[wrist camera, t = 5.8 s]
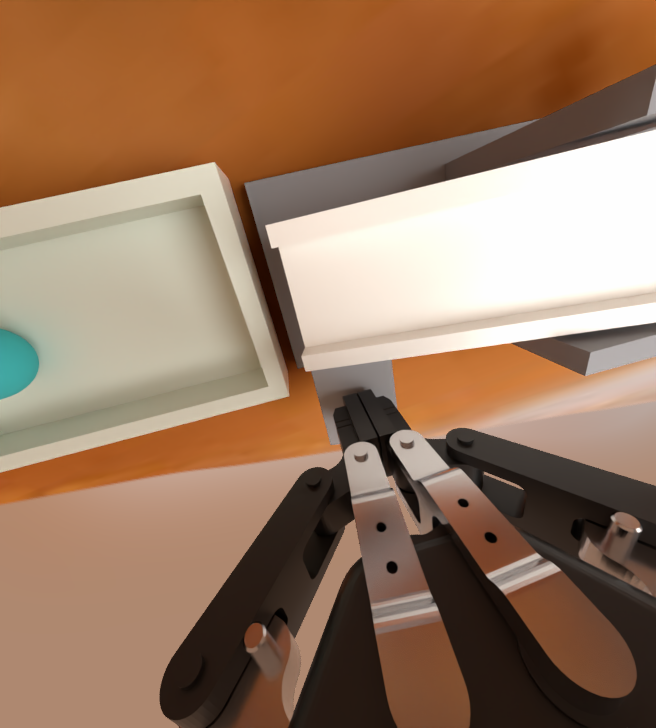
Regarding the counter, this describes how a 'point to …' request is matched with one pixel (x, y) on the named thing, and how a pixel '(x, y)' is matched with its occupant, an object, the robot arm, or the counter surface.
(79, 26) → the counter surface
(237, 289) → the tray
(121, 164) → the counter surface
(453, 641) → the robot arm
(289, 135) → the counter surface
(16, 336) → the ball
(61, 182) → the counter surface
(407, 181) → the stand
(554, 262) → the trough
